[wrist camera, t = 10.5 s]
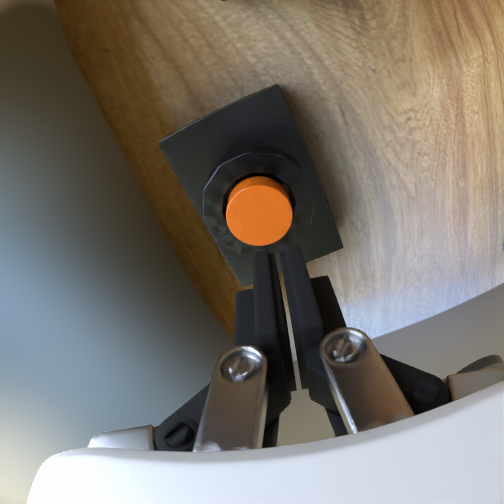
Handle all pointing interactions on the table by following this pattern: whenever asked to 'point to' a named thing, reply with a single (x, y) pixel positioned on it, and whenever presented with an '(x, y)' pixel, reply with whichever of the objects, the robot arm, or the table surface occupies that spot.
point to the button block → (252, 175)
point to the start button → (259, 211)
